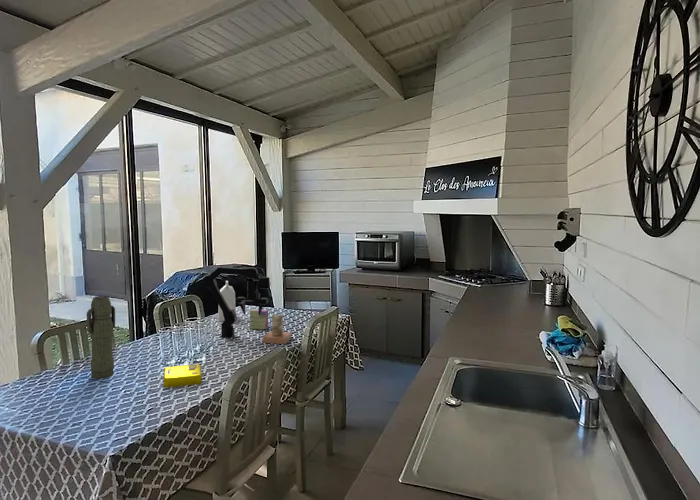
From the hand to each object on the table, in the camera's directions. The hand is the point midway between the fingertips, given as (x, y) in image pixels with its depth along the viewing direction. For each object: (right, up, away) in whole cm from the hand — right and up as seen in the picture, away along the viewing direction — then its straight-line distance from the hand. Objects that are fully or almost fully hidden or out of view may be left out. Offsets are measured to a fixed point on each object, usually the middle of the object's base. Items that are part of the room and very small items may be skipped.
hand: (252, 314), depth 261 cm
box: (0, -12, +20) cm, 23 cm away
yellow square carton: (-15, -19, -69) cm, 73 cm away
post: (+16, -11, -6) cm, 20 cm away
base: (+16, -14, -6) cm, 22 cm away
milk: (-27, -9, +44) cm, 53 cm away
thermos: (-51, -17, -66) cm, 86 cm away
